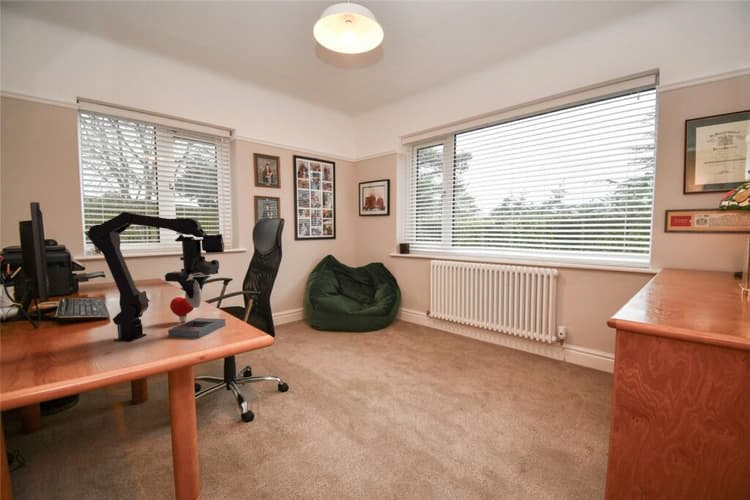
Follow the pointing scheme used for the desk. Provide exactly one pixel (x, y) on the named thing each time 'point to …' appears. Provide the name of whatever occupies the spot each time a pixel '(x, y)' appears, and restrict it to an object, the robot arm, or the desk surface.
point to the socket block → (196, 328)
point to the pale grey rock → (195, 296)
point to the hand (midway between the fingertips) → (194, 297)
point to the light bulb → (181, 308)
